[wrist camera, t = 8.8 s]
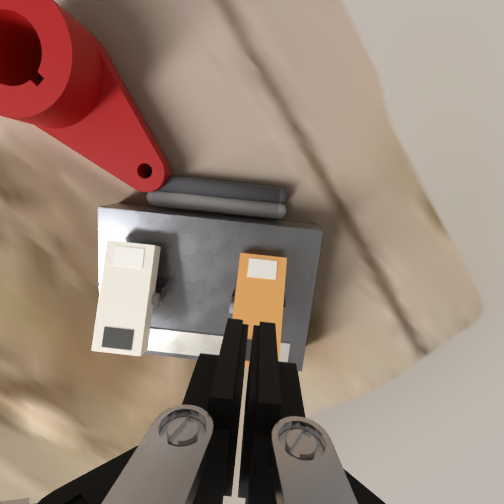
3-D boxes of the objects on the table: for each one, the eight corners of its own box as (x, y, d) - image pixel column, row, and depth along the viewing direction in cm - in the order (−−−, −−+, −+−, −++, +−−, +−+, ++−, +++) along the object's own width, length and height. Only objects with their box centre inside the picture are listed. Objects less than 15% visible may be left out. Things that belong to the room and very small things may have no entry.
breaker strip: (118, 203, 32) (88, 208, 26) (316, 224, 32) (327, 234, 26) (118, 329, 35) (91, 357, 30) (297, 349, 35) (303, 381, 30)
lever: (-6, 76, 30) (-82, 45, 23) (58, -3, 28) (-4, -61, 22) (133, 219, 32) (100, 227, 25) (200, 153, 30) (183, 144, 24)
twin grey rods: (150, 172, 31) (144, 172, 30) (288, 187, 31) (289, 187, 29) (149, 204, 32) (143, 206, 30) (284, 218, 32) (285, 220, 30)
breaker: (112, 242, 28) (101, 239, 26) (166, 247, 28) (159, 245, 26) (97, 345, 27) (86, 350, 25) (152, 351, 27) (145, 356, 25)
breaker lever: (236, 258, 29) (235, 252, 27) (288, 264, 29) (291, 258, 27) (223, 362, 26) (221, 363, 24) (280, 368, 26) (283, 370, 24)
